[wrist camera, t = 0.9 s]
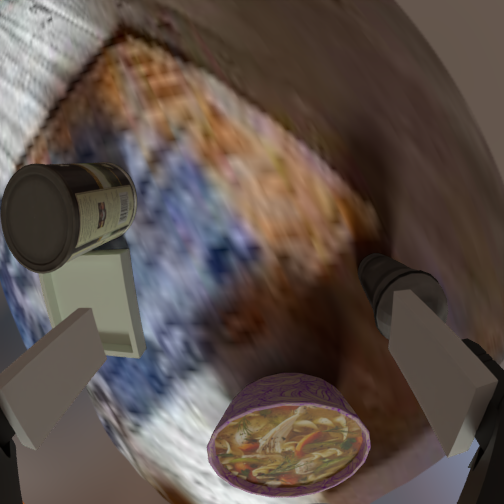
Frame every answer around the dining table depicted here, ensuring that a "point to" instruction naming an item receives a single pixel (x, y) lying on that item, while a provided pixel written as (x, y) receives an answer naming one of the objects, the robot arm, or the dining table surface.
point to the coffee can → (65, 211)
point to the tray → (99, 298)
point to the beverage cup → (397, 288)
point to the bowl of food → (288, 437)
